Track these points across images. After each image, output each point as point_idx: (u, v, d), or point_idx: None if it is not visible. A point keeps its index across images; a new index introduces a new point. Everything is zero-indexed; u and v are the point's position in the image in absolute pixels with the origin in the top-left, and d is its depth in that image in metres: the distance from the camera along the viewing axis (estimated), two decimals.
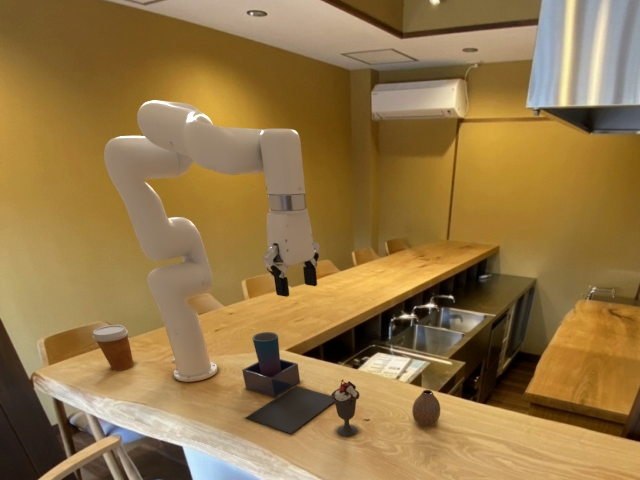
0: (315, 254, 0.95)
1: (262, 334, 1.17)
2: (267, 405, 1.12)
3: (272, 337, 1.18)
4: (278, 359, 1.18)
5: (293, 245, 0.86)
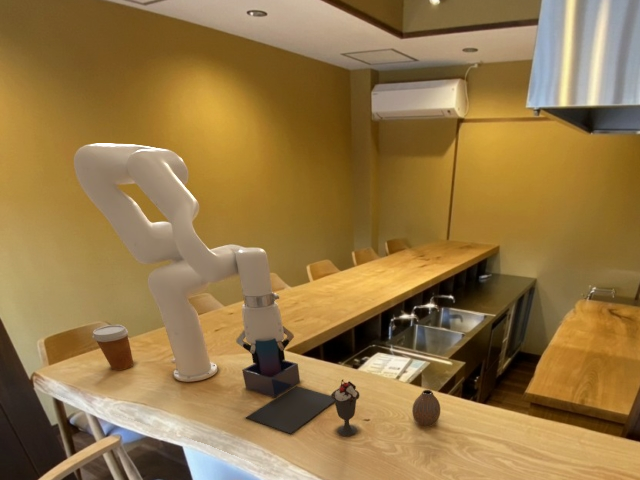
0: (285, 340, 1.16)
1: None
2: (267, 405, 1.12)
3: None
4: (278, 359, 1.18)
5: (254, 330, 1.11)
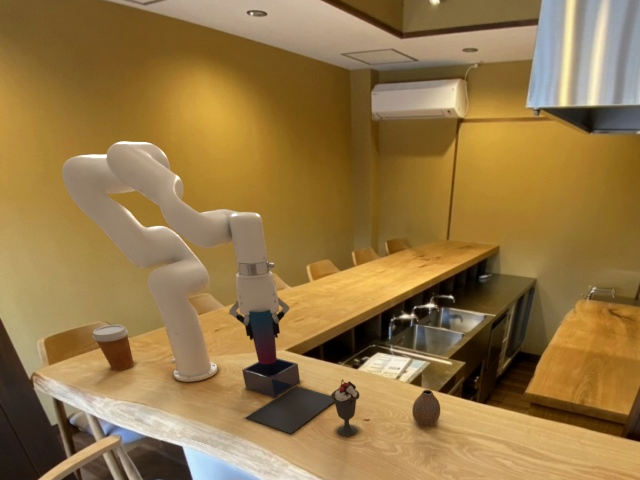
0: (280, 313, 1.12)
1: None
2: (267, 405, 1.12)
3: None
4: (273, 332, 1.13)
5: (248, 301, 1.06)
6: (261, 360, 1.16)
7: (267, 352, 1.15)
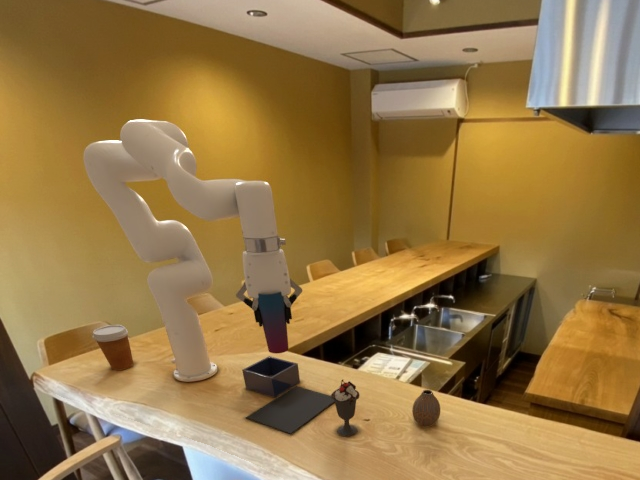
0: (292, 295, 1.01)
1: None
2: (267, 405, 1.12)
3: None
4: (284, 317, 1.02)
5: (256, 282, 0.96)
6: (272, 349, 1.05)
7: (278, 340, 1.04)
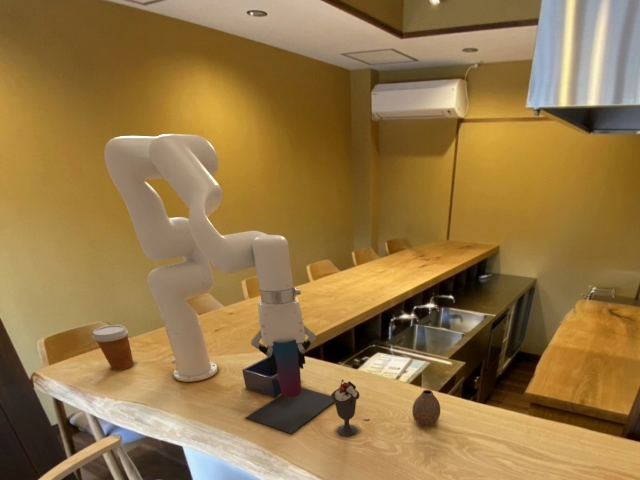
0: (306, 342, 1.02)
1: None
2: (267, 405, 1.12)
3: None
4: (298, 363, 1.04)
5: (271, 331, 0.97)
6: (285, 393, 1.06)
7: (292, 384, 1.05)
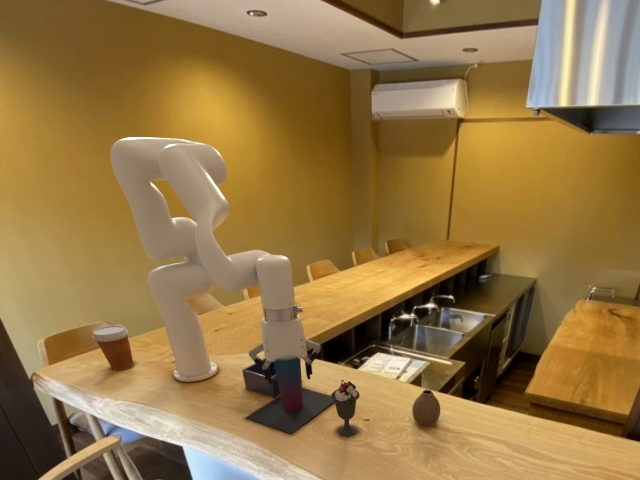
0: (313, 353, 1.04)
1: None
2: (267, 405, 1.12)
3: None
4: (300, 379, 1.06)
5: (274, 347, 0.99)
6: (287, 408, 1.09)
7: (294, 400, 1.07)
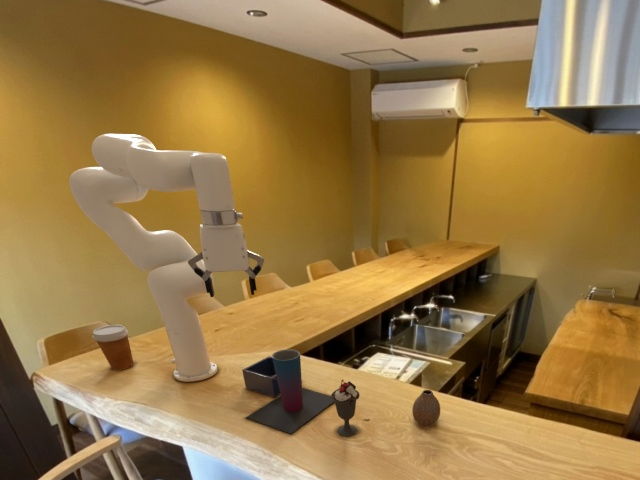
0: (256, 267, 1.02)
1: (282, 352, 1.06)
2: (267, 405, 1.12)
3: (293, 355, 1.06)
4: (300, 379, 1.06)
5: (213, 255, 0.97)
6: (287, 408, 1.09)
7: (294, 400, 1.07)
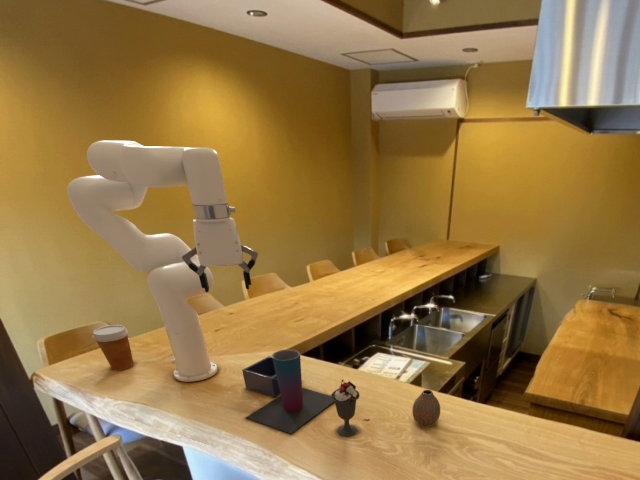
0: (250, 261, 1.02)
1: (282, 352, 1.06)
2: (267, 405, 1.12)
3: (293, 355, 1.06)
4: (300, 379, 1.06)
5: (207, 249, 0.97)
6: (287, 408, 1.09)
7: (294, 400, 1.07)
